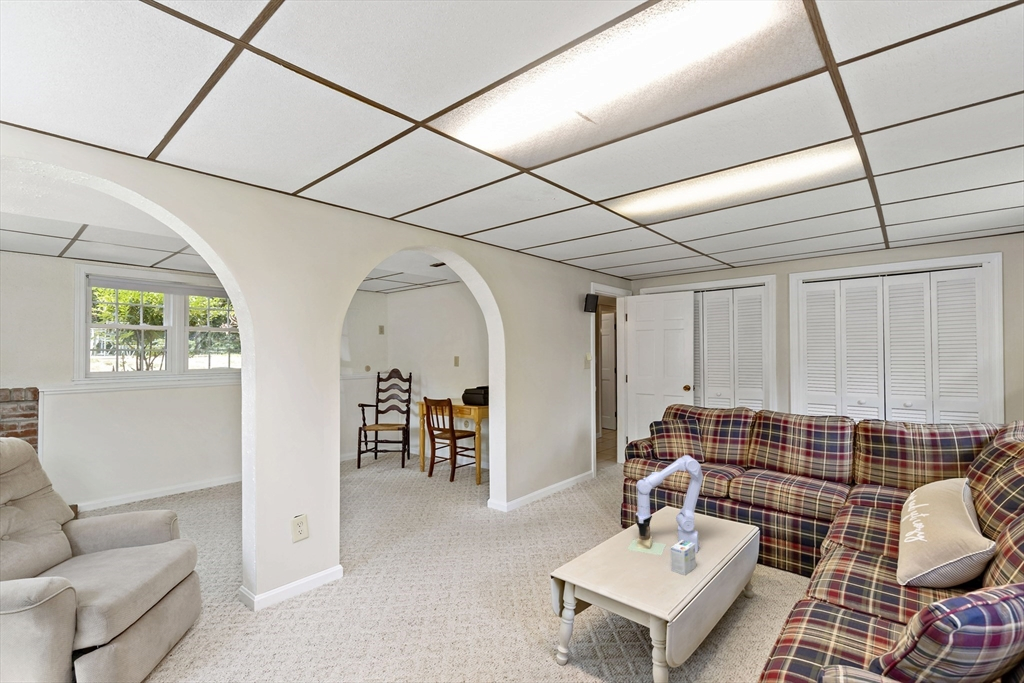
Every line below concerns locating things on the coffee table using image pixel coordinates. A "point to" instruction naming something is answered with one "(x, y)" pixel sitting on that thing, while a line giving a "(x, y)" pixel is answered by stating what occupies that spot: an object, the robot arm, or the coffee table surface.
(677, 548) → the light bulb box
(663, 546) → the plate
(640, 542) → the maple base brick
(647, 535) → the walnut brick
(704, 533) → the coffee table surface
